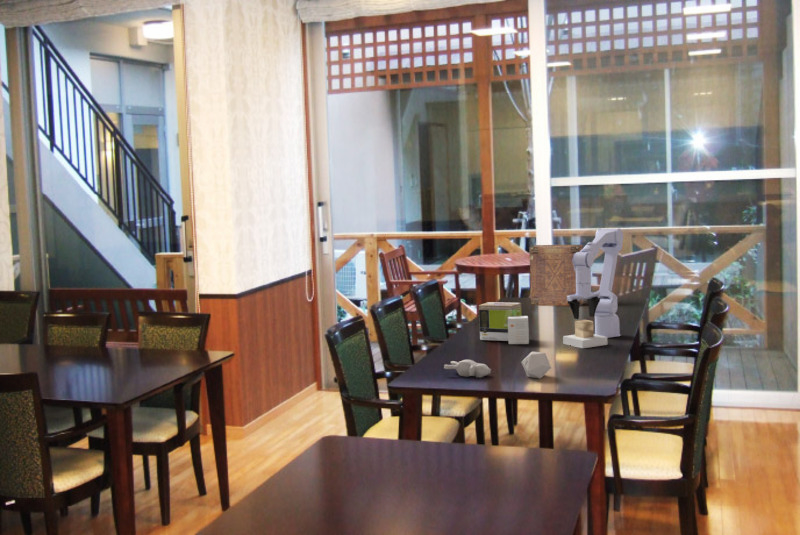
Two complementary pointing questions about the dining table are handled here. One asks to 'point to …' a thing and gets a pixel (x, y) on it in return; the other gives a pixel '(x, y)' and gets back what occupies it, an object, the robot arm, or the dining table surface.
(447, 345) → the dining table surface
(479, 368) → the bunny figurine
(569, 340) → the white square slab
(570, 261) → the book
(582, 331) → the maple block
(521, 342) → the small box
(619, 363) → the dining table surface
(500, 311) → the tea box
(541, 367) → the die
